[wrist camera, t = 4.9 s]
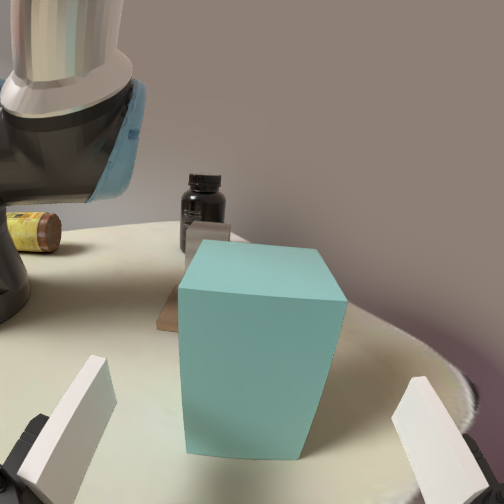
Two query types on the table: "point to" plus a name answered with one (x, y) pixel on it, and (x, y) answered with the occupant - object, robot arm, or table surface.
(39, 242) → the sauce bottle
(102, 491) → the table surface
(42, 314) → the table surface
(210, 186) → the supplement bottle
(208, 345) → the tall teal pillar
